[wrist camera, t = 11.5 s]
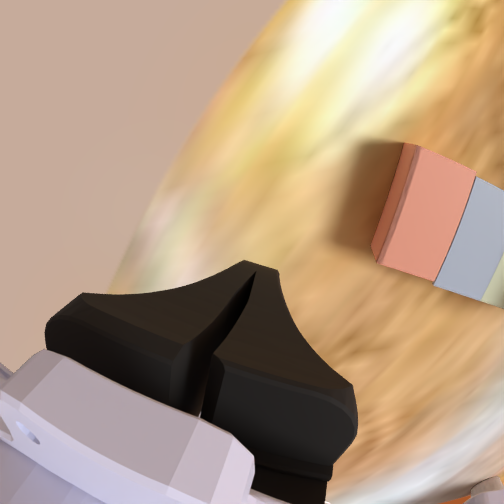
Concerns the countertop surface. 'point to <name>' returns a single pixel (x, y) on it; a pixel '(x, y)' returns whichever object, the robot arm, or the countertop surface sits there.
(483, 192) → the slate book
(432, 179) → the terracotta book
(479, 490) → the house plant
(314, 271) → the countertop surface
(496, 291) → the sage book
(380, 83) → the countertop surface
